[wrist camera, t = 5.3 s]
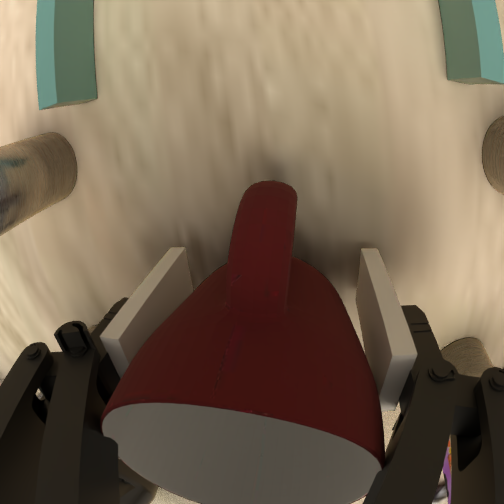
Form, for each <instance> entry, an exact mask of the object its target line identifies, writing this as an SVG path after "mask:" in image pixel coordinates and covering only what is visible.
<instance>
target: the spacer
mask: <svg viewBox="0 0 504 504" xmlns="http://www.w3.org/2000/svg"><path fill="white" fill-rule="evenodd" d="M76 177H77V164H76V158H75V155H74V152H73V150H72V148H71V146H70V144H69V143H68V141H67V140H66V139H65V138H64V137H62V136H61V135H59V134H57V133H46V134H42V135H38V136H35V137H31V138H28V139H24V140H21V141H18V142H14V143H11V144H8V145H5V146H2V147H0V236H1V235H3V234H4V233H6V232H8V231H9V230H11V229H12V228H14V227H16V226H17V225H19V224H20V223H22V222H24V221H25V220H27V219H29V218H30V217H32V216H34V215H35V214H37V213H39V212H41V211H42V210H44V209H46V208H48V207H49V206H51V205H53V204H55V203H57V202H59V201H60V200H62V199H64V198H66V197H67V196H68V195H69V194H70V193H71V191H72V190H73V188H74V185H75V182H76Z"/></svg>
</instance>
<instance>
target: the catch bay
mask: <svg viewBox="0 0 504 504" xmlns="http://www.w3.org/2000/svg"><path fill="white" fill-rule="evenodd" d="M438 1H439V6H440V12H441V19H442V25H443V33H444V42H445V51H446V63H447V79H448V80H451V81H456V82H461V83H465V84H504V53H503V45H502V37H501V30H500V24H499V18H498V13H497V8H496V3H495V0H438ZM36 74H37V91H38V102H39V110H43V109H49V108H55V107H62V106H69V105H76V104H81V103H85V102H88V101H91V100H94V99H97V90H96V78H95V63H94V40H93V0H37V15H36Z"/></svg>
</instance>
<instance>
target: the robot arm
mask: <svg viewBox="0 0 504 504" xmlns="http://www.w3.org/2000/svg"><path fill="white" fill-rule="evenodd" d="M193 292H194V291H193V286H192V281H191V275H190V270H189V265H188V259H187V253H186V248H185V247H171V248H170V249H169V250H168V251H167V252H166V254H165V255H164V256H163V257H162V258H161V260H160V261H159V262H158V263H157V264H156V266H155V267H154V268H153V269H152V271H151V272H150V273H149V274H148V275H147V277H146V278H145V279H144V280H143V282H142V283H141V284H140V285H139V286H138V288H137V289H136V290H135V291H134V293H133V294H132V295H131V296H130V298H123V299H121V300H120V301H118V302H117V303H116V304H114V305H113V307H112V308H111V309H110V310H109V312H108V313H107V314H106V315H105V317H104V319H102V320H101V322H100V323H99V324H98V325H97V327H96V328H95V329H94V330H93V332H92V333H91V334H90V333H89V331H88V329H87V326H86V325H85V324H84V323H83V322H81V321H72V322H68V323H66V324H64V325H62V326H61V327H60V328H58V329H57V330H56V332H55V334H54V336H55V338H56V340H57V342H58V343H59V345H60V347H61V349H62V351H63V352H50V350H49V349H48V347H47V345H46V344H45V343H42V342H37V343H33V344H30V345H29V346H28V347H26V348H25V349H24V350H23V352H22V353H21V355H20V356H19V358H18V359H17V361H16V362H15V364H14V365H13V367H12V368H11V370H10V371H9V373H8V375H7V376H6V378H5V379H4V381H3V383H2V384H1V386H0V504H150V503H151V502H152V501H153V499H154V498H155V495H156V492H157V490H158V486H157V485H155V484H153V483H152V482H150V481H148V480H146V479H145V478H143V477H142V476H140V475H139V474H137V473H136V472H135V471H133V470H132V469H130V468H129V467H128V466H127V465H126V464H124V463H123V462H122V461H121V460H120V459H118V444H117V442H116V441H115V440H113V439H112V438H110V437H106V436H104V435H103V434H102V433H101V430H100V419H101V416H102V414H103V412H104V409H105V408H106V406H107V404H108V402H109V400H110V398H111V396H112V394H113V392H114V391H115V389H116V387H117V385H118V383H119V381H120V380H121V378H122V376H123V375H124V373H125V371H126V369H127V368H128V366H129V364H130V363H131V361H132V359H133V358H134V357H135V355H136V354H137V352H138V351H139V349H140V348H141V347H142V346H143V344H144V343H145V342H146V341H147V339H148V338H149V337H150V336H151V335H152V333H153V332H154V331H155V330H156V329H157V328H158V327H159V326H160V325H161V324H162V323H163V322H164V321H165V320H166V319H167V318H168V317H169V316H170V315H171V314H172V313H173V312H174V311H175V310H176V309H177V308H178V307H179V306H180V305H181V304H182V303H183V302H184V301H185V300H186V299H187V298H188V297H189V296H190V295H191V294H192V293H193ZM356 304H357V309H358V315H359V320H360V325H361V331H362V337H363V342H364V348H365V355H366V358H367V360H368V363H369V365H370V368H371V371H372V373H373V376H374V380H375V383H376V387H377V391H378V395H379V400H380V405H381V411H395V409H396V407H397V404H398V402H399V403H400V408H401V413H400V415H399V417H398V419H397V421H396V423H395V425H394V427H393V429H392V430H394V431H393V433H392V436H391V439H390V442H389V444H388V447H387V449H386V452H385V466H384V468H383V469H382V471H381V470H380V471H379V472H378V473H377V474H376V476H375V478H374V481H373V483H372V485H371V487H370V489H369V492H368V494H367V496H366V498H365V500H364V502H363V504H432V501H433V498H434V495H435V492H436V489H437V485H438V482H439V479H440V475H441V471H442V468H443V464H444V460H445V456H446V451H447V447H448V442H449V438H450V437H451V504H504V370H503V369H501V368H497V367H492V368H488V369H486V370H485V371H484V372H483V374H482V375H481V377H474V376H467V375H462V374H459V373H458V371H457V369H456V368H455V366H454V365H453V364H451V363H450V362H449V361H446V360H444V359H443V357H442V354H441V352H440V349H439V347H438V344H437V342H436V339H435V337H434V334H433V332H432V329H431V327H430V325H429V324H428V323H429V322H428V320H427V318H426V316H425V313H424V312H423V311H422V310H421V309H419V308H418V307H417V306H416V305H407V306H401V305H400V303H399V300H398V297H397V295H396V292H395V290H394V287H393V285H392V282H391V280H390V277H389V275H388V272H387V270H386V267H385V265H384V263H383V260H382V258H381V256H380V253H379V251H378V249H376V248H361V255H360V265H359V275H358V284H357V292H356ZM38 388H39V390H40V391H41V393H42V394H43V396H42V397H41V398H40V399H39V398H38V397H37V396H36V392H37V390H38Z"/></svg>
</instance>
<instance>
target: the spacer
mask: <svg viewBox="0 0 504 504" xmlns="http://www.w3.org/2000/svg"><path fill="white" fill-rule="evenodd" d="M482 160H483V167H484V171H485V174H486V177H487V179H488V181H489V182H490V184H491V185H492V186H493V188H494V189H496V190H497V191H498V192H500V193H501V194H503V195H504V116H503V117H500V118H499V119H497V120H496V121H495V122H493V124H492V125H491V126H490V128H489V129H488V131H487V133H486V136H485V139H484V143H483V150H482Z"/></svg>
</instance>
